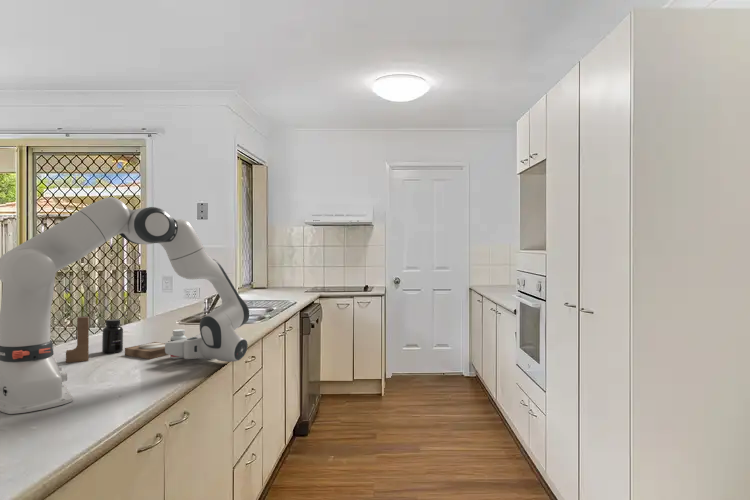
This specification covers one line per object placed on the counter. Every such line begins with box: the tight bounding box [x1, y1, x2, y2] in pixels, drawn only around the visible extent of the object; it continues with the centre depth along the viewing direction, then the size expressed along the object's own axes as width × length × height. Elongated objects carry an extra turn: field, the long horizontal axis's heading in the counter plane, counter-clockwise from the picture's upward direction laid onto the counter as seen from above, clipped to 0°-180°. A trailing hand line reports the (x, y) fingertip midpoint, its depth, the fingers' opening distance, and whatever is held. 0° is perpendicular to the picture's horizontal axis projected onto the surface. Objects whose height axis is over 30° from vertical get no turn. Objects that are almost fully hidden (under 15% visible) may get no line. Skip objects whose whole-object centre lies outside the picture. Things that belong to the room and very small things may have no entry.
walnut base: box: [124, 341, 170, 360], centre depth 185 cm, size 13×13×3 cm
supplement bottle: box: [101, 318, 124, 355], centre depth 187 cm, size 7×7×12 cm
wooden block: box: [65, 315, 90, 364], centre depth 173 cm, size 7×3×15 cm, turn 118°
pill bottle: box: [169, 328, 187, 360], centre depth 180 cm, size 5×5×10 cm
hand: (176, 341), depth 180 cm, fingers closed on pill bottle, 5 cm apart
